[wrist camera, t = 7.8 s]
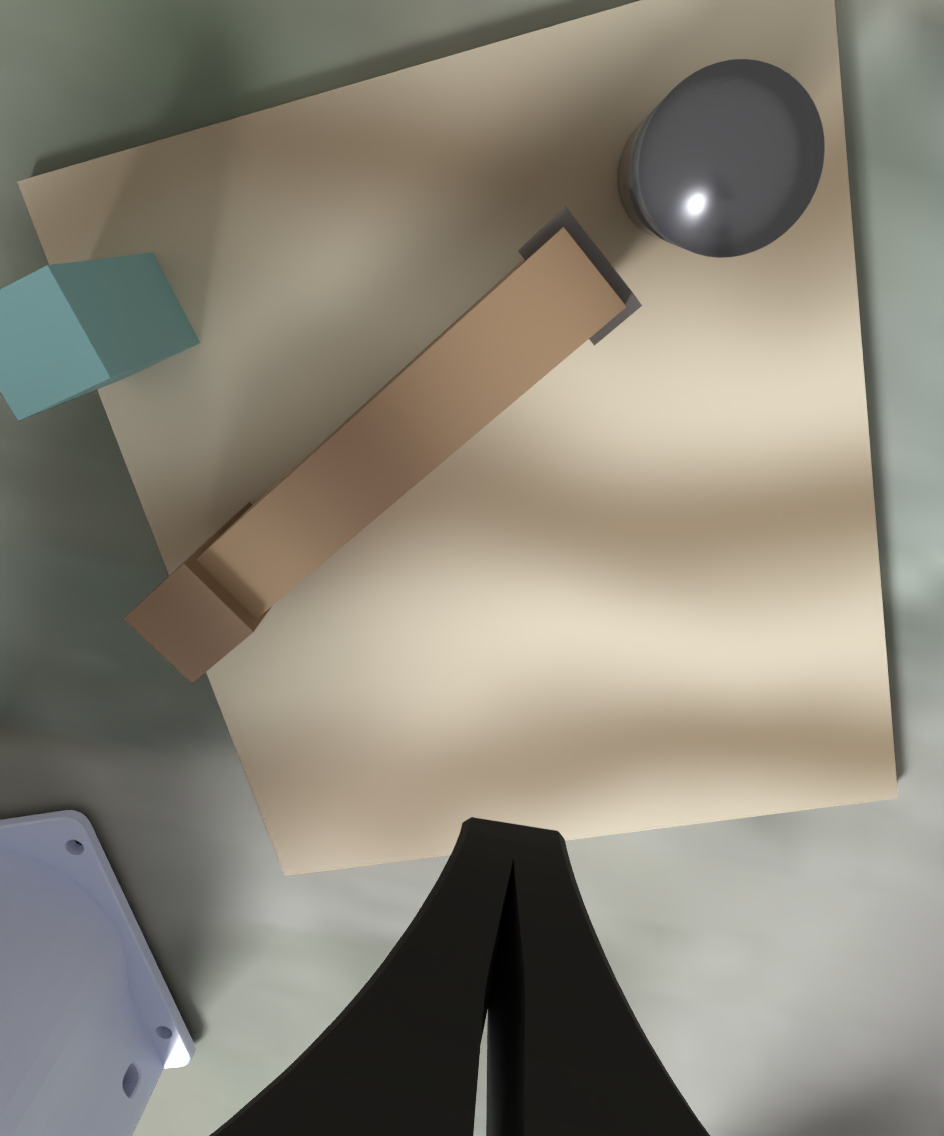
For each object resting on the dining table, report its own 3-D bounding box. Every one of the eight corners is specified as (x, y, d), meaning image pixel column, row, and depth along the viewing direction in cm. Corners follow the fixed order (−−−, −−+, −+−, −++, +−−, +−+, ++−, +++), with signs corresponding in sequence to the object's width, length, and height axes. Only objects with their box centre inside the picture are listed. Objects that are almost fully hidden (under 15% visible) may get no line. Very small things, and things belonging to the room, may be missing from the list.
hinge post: (749, 224, 18) (832, 234, 12) (627, 253, 18) (654, 275, 12) (733, 90, 17) (815, 34, 11) (606, 124, 17) (624, 88, 12)
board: (892, 788, 22) (898, 798, 22) (289, 865, 25) (284, 875, 25) (824, -50, 16) (829, -55, 15) (27, 181, 19) (16, 181, 18)
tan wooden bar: (565, 206, 17) (565, 208, 14) (630, 289, 17) (646, 310, 14) (193, 546, 20) (118, 615, 17) (256, 608, 21) (195, 687, 17)
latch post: (207, 340, 20) (110, 378, 15) (131, 375, 20) (18, 421, 16) (161, 251, 19) (47, 265, 15) (84, 289, 19) (-47, 313, 15)
